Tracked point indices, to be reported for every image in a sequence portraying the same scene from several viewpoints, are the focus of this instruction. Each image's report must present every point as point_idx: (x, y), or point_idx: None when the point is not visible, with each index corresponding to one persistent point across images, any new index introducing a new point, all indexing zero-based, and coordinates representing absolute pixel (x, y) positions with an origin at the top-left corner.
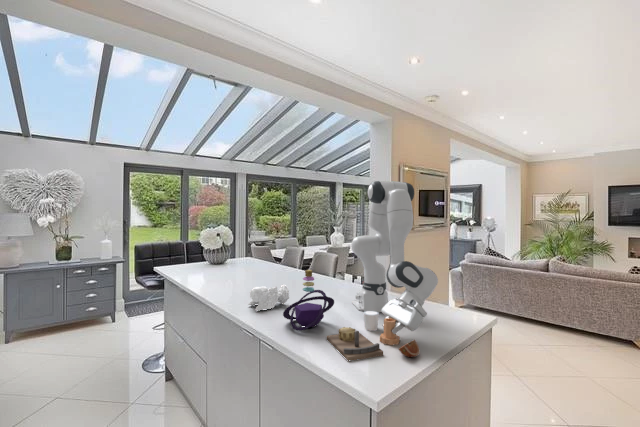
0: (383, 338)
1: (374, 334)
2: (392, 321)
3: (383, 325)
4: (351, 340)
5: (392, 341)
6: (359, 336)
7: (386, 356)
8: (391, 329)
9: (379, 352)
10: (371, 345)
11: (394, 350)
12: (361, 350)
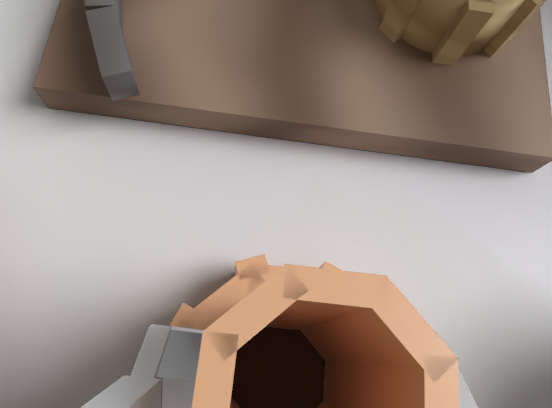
0: (259, 259)
1: (508, 341)
2: (213, 392)
3: None
4: None
5: None
6: (433, 101)
7: (19, 121)
8: (197, 341)
9: (45, 53)
10: (198, 73)
11: (70, 270)
12: None
